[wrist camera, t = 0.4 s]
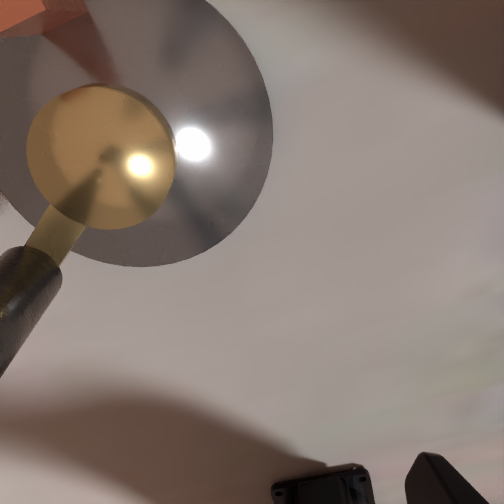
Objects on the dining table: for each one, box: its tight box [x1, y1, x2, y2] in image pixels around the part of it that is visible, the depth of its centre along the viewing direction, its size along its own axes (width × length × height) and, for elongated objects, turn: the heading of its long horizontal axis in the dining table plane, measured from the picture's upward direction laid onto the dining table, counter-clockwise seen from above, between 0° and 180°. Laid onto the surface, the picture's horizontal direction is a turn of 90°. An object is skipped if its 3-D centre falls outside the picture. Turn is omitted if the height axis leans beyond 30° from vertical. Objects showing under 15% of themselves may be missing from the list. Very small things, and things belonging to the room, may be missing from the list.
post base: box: [0, 0, 273, 267], centre depth 17 cm, size 12×12×5 cm
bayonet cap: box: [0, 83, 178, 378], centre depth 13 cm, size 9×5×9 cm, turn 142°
